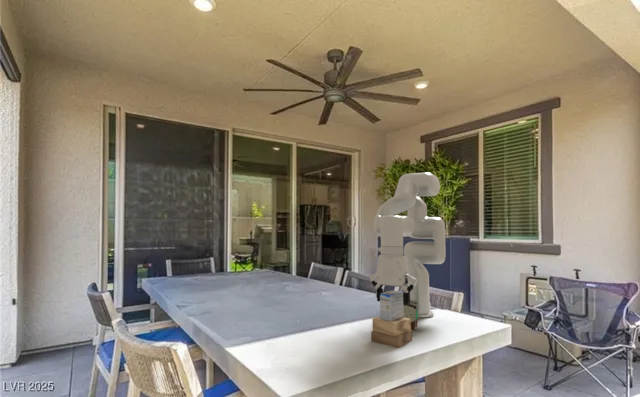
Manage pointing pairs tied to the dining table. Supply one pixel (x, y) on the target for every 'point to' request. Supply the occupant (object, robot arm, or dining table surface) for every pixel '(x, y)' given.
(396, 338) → the tower base block
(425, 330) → the dining table surface
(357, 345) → the dining table surface
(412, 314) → the food container
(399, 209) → the robot arm
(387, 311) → the medicine box
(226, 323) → the dining table surface
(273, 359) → the dining table surface
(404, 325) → the tower top block
